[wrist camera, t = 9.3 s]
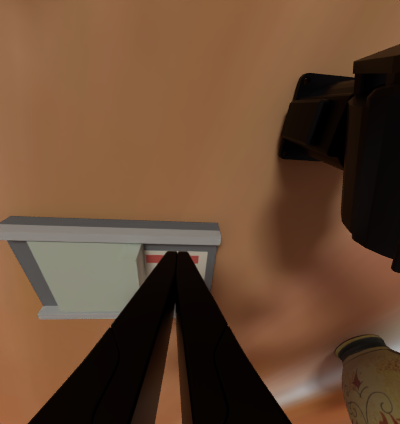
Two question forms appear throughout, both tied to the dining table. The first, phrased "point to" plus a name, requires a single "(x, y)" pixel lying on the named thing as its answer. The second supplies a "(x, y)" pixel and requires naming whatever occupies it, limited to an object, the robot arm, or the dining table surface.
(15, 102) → the dining table surface
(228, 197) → the dining table surface
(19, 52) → the dining table surface
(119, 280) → the sage shutter
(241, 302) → the dining table surface
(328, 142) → the robot arm
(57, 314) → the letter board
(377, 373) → the amphora
